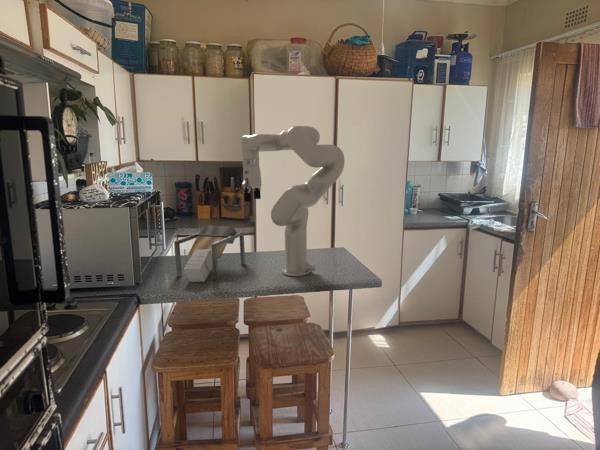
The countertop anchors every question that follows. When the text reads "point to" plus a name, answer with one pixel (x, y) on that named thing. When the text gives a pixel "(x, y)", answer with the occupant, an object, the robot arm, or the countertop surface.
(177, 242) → the frame
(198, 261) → the supplement box
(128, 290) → the countertop surface
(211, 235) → the trapdoor
